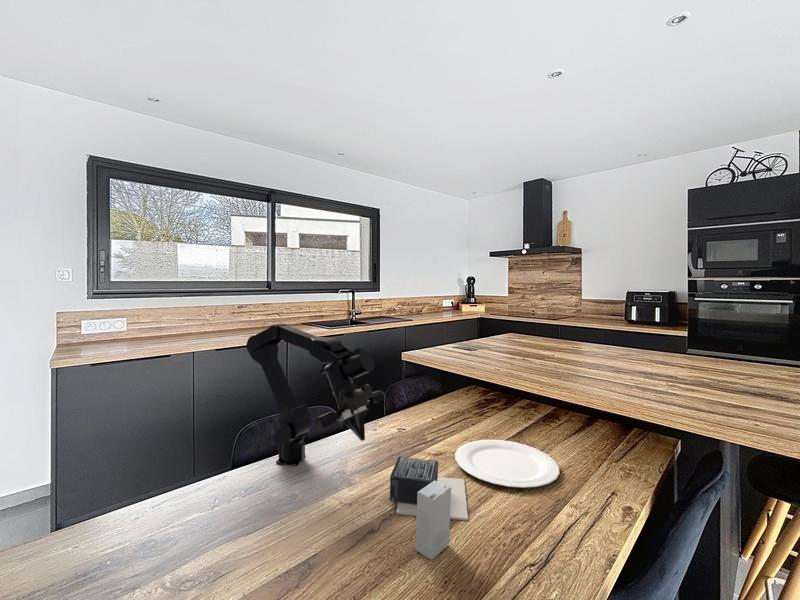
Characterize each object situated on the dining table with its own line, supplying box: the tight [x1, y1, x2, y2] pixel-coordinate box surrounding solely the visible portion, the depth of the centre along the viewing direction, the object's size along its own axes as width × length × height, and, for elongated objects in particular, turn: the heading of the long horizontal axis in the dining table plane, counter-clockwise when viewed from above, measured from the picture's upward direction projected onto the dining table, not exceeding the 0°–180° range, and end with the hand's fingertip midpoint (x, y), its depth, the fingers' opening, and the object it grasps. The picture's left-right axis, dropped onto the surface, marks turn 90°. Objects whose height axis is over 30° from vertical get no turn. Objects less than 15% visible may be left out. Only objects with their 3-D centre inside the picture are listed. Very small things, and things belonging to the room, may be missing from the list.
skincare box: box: [414, 481, 451, 561], centre depth 74 cm, size 6×4×12 cm
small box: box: [389, 456, 439, 504], centre depth 93 cm, size 11×6×10 cm
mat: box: [395, 476, 469, 522], centre depth 93 cm, size 16×17×1 cm
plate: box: [454, 439, 560, 489], centre depth 110 cm, size 29×29×2 cm
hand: (363, 440), depth 99 cm, fingers closed
